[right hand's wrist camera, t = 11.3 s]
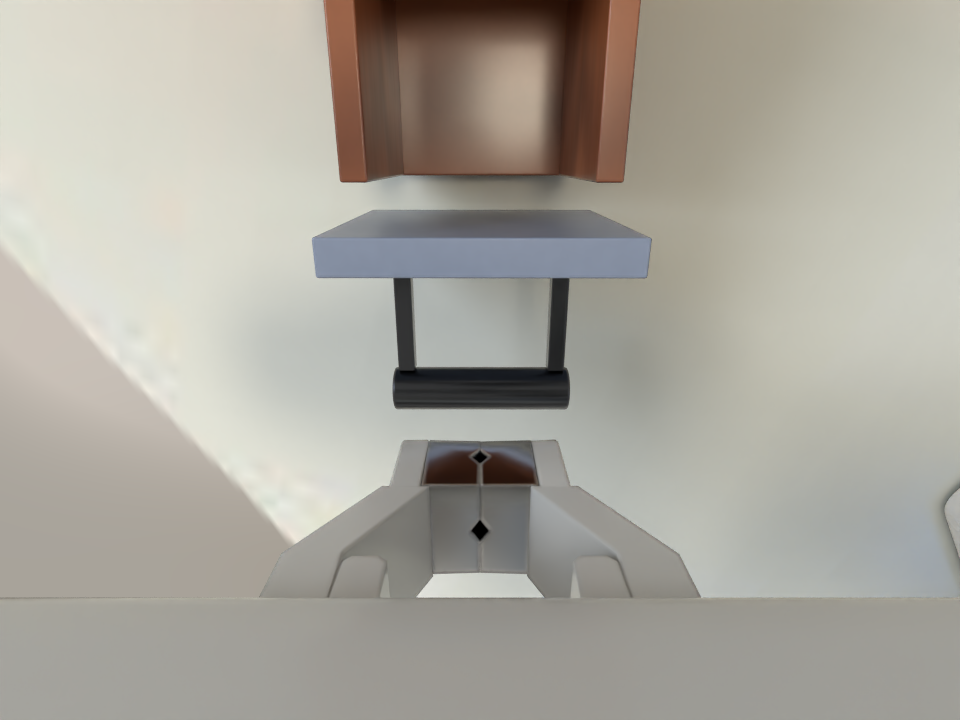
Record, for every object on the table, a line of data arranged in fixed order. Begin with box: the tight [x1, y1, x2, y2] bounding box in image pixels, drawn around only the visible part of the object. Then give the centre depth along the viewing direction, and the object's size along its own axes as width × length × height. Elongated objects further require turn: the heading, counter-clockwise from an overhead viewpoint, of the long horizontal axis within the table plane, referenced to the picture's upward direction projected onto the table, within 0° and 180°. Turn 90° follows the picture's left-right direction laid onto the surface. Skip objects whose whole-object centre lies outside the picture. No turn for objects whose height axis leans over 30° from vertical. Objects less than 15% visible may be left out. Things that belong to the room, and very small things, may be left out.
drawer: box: [312, 0, 651, 409], centre depth 17 cm, size 24×10×9 cm, turn 0°
